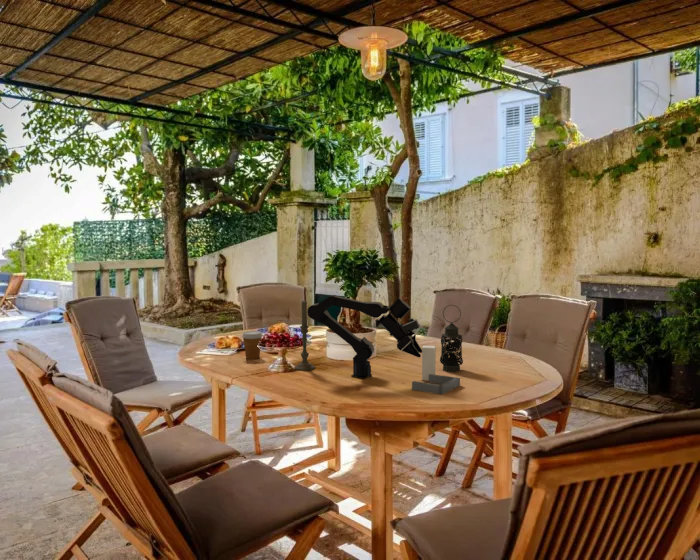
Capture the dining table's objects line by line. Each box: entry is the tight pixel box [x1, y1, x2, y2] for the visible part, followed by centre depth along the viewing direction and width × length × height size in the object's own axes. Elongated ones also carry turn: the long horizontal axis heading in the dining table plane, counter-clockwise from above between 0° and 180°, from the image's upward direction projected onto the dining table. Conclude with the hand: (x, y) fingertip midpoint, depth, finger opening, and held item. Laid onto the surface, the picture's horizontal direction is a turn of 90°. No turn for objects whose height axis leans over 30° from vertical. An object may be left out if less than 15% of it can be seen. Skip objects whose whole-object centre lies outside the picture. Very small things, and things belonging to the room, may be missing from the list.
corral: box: [411, 374, 461, 395], centre depth 224 cm, size 12×15×3 cm
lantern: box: [439, 304, 464, 373], centre depth 252 cm, size 10×9×28 cm
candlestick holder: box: [294, 299, 316, 371], centre depth 258 cm, size 9×9×30 cm
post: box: [421, 345, 437, 381], centre depth 238 cm, size 5×5×13 cm
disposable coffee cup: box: [241, 330, 263, 360], centre depth 282 cm, size 10×10×12 cm
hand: (421, 354), depth 238 cm, fingers open, 9 cm apart
